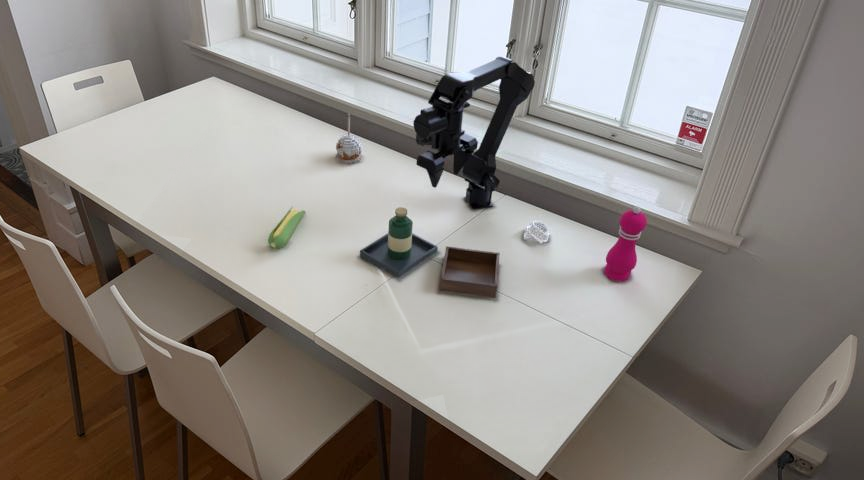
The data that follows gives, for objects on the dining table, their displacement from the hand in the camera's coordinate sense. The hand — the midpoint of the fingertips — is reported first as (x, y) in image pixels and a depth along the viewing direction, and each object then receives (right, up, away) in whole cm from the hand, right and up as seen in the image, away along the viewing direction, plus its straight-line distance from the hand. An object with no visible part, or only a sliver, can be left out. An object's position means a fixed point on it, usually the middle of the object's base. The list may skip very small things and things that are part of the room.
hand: (445, 180), depth 175 cm
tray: (-12, -20, -5) cm, 24 cm away
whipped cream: (+25, -15, +3) cm, 29 cm away
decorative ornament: (-27, +11, +35) cm, 46 cm away
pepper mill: (+42, -25, -8) cm, 50 cm away
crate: (+5, -26, -12) cm, 29 cm away
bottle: (-12, -19, -5) cm, 23 cm away
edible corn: (-42, -14, +2) cm, 44 cm away
